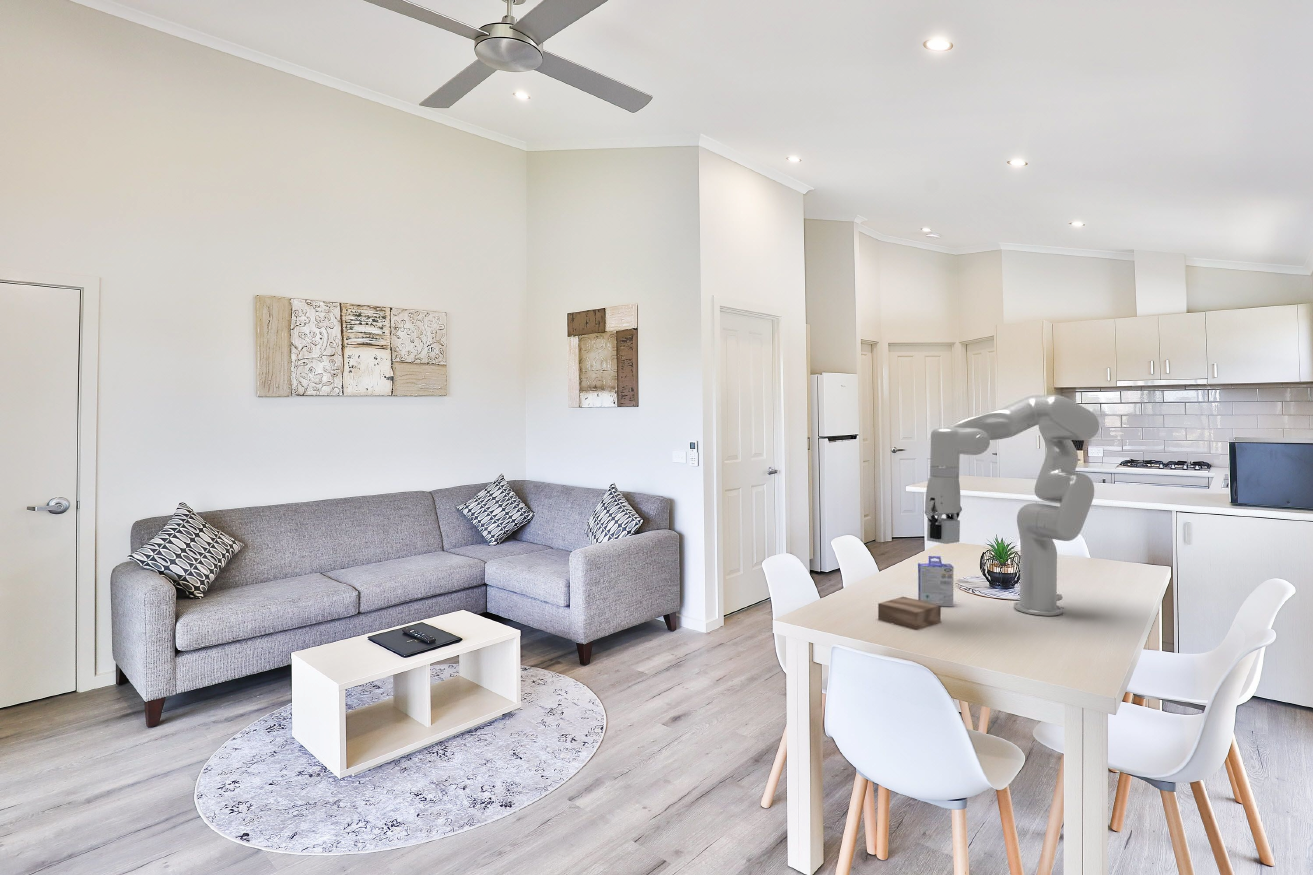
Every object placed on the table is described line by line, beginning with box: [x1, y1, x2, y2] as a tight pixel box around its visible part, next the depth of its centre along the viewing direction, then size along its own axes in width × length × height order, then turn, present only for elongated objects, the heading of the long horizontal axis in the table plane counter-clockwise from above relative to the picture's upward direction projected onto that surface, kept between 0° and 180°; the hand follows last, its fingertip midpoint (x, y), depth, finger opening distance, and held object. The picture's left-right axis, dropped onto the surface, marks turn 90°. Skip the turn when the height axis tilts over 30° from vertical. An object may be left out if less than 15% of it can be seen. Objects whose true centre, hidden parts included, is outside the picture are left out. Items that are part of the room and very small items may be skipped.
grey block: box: [926, 517, 961, 545], centre depth 195 cm, size 6×6×6 cm
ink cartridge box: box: [917, 555, 955, 607], centre depth 215 cm, size 10×6×14 cm, turn 78°
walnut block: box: [877, 596, 942, 630], centre depth 199 cm, size 12×12×5 cm
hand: (943, 537), depth 195 cm, fingers closed on grey block, 6 cm apart
